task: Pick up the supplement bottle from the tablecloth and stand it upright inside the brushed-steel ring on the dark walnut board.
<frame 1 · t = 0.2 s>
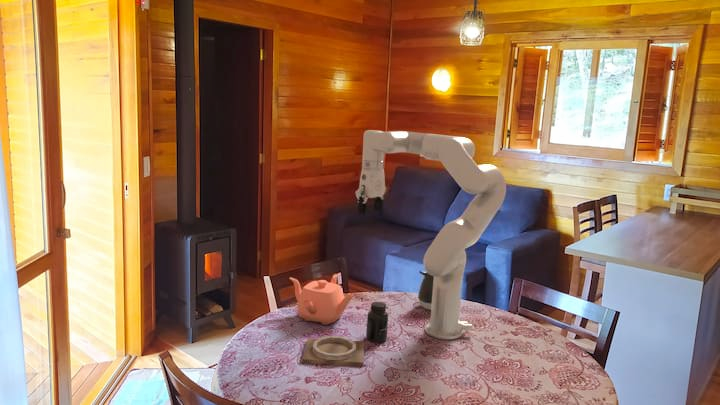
hand: (370, 212, 194), 37 cm above the table, tool pointing down, fingers open, 9 cm apart
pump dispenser: (430, 308, 205), on the table
supplement bottle: (376, 339, 175), on the table
teapot: (319, 318, 190), on the table
ring board: (334, 353, 164), on the table
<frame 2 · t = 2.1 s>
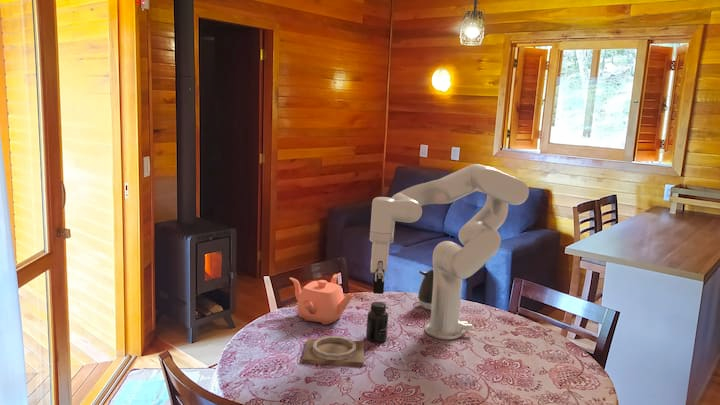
hand: (378, 288, 172), 17 cm above the table, tool pointing down, fingers open, 9 cm apart
nothing on the table moved.
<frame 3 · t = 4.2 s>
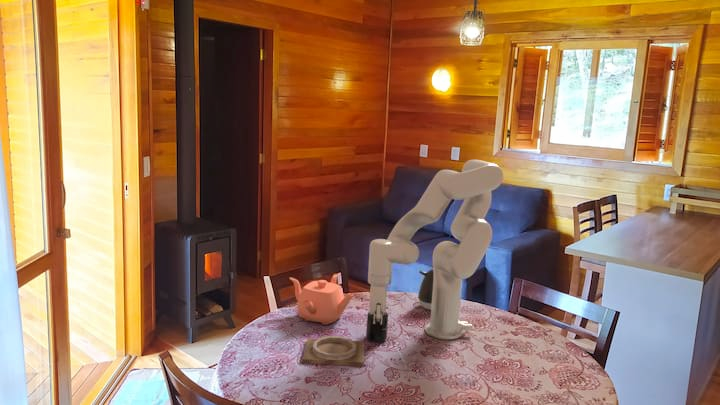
hand: (376, 329, 175), 3 cm above the table, tool pointing down, fingers closed on supplement bottle, 6 cm apart
supplement bottle: (376, 339, 175), on the table, touching gripper
everything else where it was.
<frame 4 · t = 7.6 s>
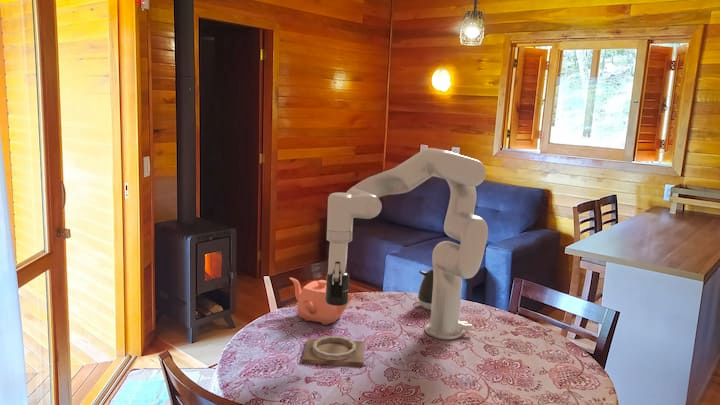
hand: (337, 292, 160), 20 cm above the table, tool pointing down, fingers closed on supplement bottle, 6 cm apart
supplement bottle: (336, 302, 161), point 16 cm above the table, touching gripper
everything else where it was.
when the fingers open (6 cm above the table, at t = 11.1 s): supplement bottle drops 1 cm, resting on ring board.
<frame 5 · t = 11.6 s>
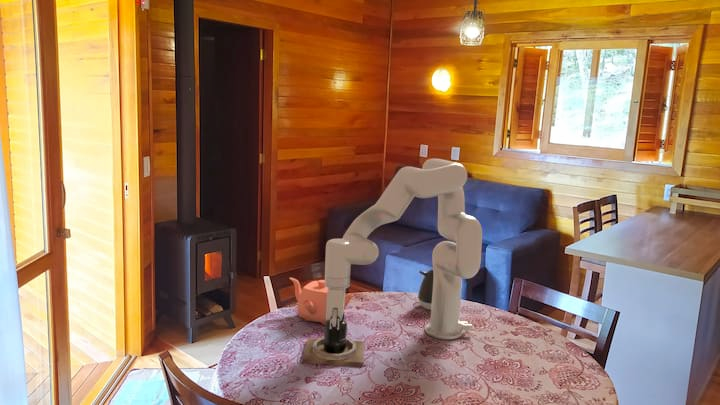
hand: (335, 334, 163), 6 cm above the table, tool pointing down, fingers open, 9 cm apart
supplement bottle: (334, 350, 164), point 1 cm above the table, touching ring board
everything else where it was.
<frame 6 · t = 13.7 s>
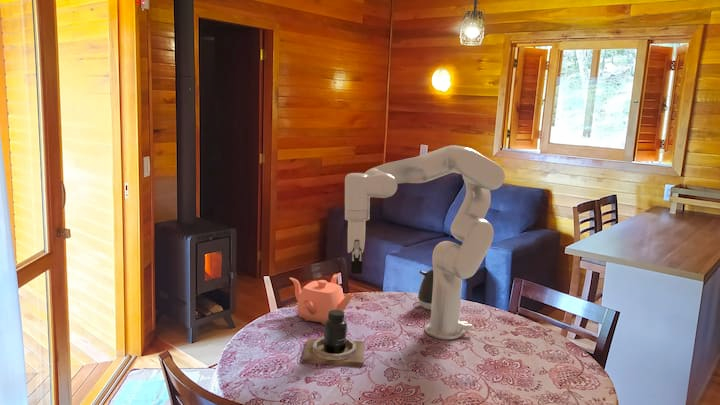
hand: (356, 268, 165), 25 cm above the table, tool pointing down, fingers open, 9 cm apart
nothing on the table moved.
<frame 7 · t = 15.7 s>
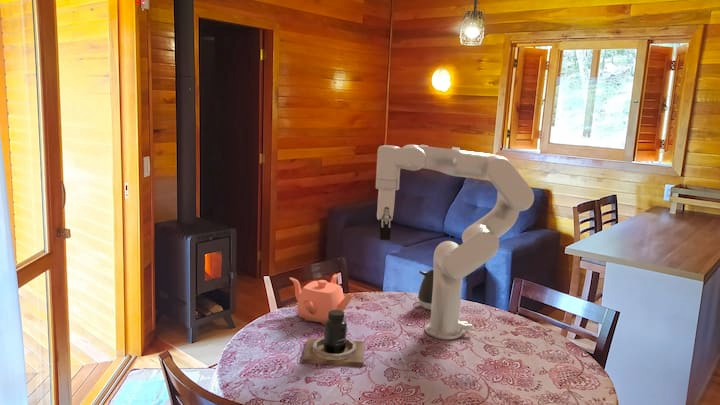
hand: (384, 235, 175), 33 cm above the table, tool pointing down, fingers open, 9 cm apart
nothing on the table moved.
at the end: supplement bottle 0.2 cm off-centre on the ring board, point 1.0 cm above the ring board's base; supplement bottle tilted 0°; the gripper is holding nothing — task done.
